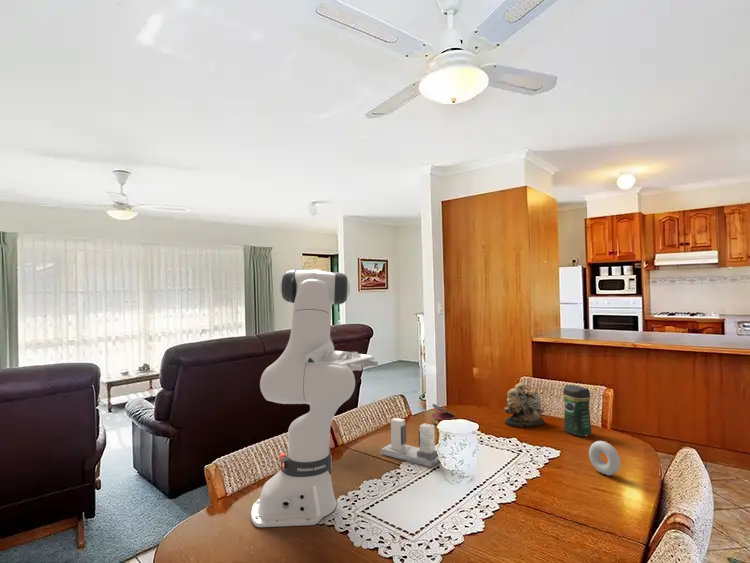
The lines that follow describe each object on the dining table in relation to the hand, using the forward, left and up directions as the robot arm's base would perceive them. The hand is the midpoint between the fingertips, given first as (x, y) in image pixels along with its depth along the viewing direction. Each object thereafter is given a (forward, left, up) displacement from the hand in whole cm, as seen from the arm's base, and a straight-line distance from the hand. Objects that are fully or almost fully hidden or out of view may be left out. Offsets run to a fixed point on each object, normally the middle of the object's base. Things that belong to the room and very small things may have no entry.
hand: (369, 365), depth 158 cm
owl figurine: (+68, +7, -30) cm, 75 cm away
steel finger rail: (+12, -14, -30) cm, 35 cm away
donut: (+64, -43, -30) cm, 83 cm away
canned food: (+36, +18, -30) cm, 51 cm away
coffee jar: (+81, -10, -30) cm, 87 cm away
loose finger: (+8, -9, -30) cm, 32 cm away
